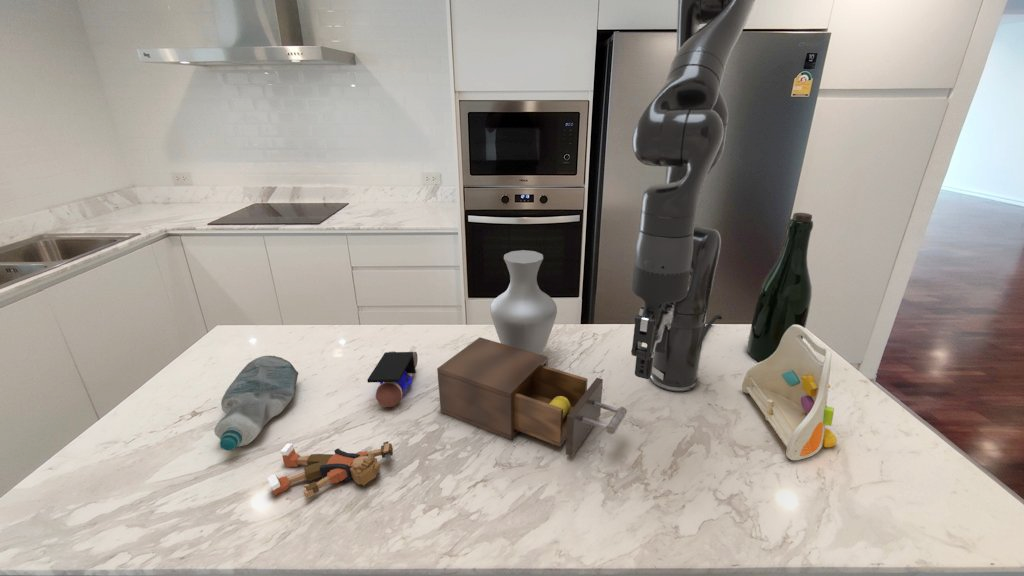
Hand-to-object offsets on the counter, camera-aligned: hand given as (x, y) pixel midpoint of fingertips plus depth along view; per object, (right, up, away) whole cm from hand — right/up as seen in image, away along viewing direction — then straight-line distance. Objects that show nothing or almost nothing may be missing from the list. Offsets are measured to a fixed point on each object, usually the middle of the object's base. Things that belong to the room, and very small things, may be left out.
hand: (650, 363), depth 73 cm
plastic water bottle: (-70, -13, +19) cm, 73 cm away
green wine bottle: (+38, -4, +37) cm, 53 cm away
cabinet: (-24, -12, +21) cm, 34 cm away
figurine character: (-45, -10, +26) cm, 53 cm away
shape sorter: (+30, -14, +15) cm, 36 cm away
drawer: (-12, -13, +13) cm, 22 cm away
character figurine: (-50, -19, +4) cm, 53 cm away
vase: (-18, -5, +36) cm, 41 cm away
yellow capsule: (-13, -12, +14) cm, 22 cm away
